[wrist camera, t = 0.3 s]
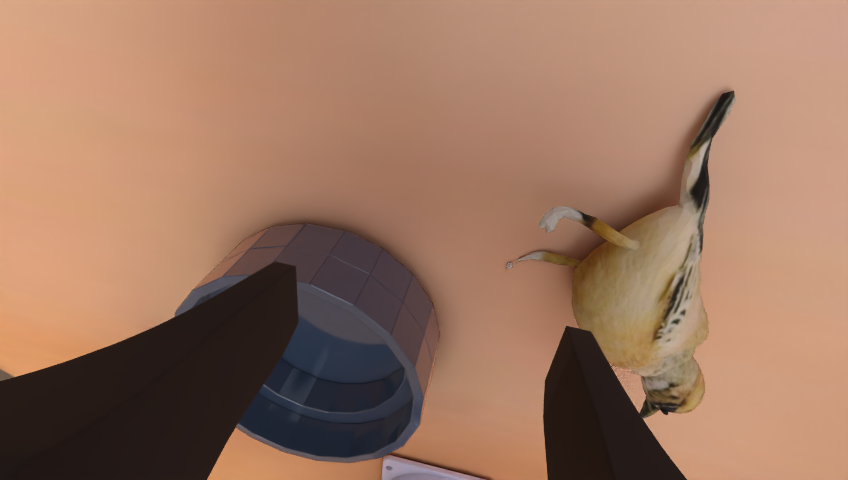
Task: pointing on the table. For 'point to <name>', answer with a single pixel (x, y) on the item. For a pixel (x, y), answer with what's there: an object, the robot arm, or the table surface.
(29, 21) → the table surface
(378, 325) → the bowl
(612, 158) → the table surface
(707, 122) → the decorative bird model
